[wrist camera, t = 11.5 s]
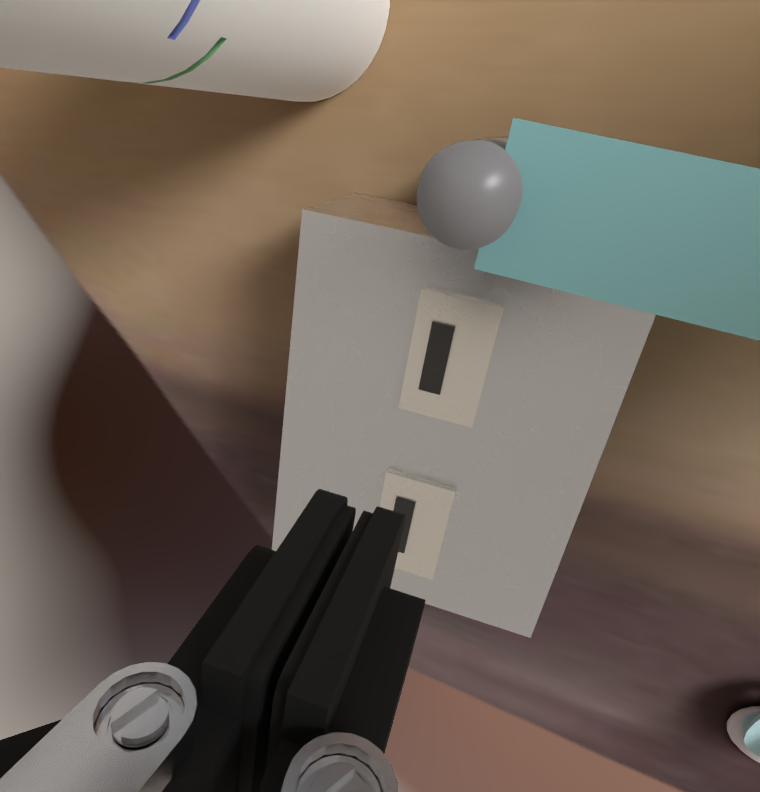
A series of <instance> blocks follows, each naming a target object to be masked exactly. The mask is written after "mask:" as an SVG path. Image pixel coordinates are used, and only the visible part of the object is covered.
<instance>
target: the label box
mask: <svg viewBox="0 0 760 792" xmlns="http://www.w3.org/2000/svg"><path fill="white" fill-rule="evenodd" d="M478 251H479V248H477V249H469V250H465V249H456V248H453V247H449V246H447V245H445V244H443V243H441V242H440V241H438V240H437V239H436V238H435V237H433V236H432V235H431V234H430V232H429V231H428V230H427V229H426V227H425V226H424V224H423V222H422V220H421V217H420V215H419V211H418V207H417V205H413V204H408V203H403V202H399V201H394V200H389V199H384V198H379V197H374V196H369V195H364V194H359V193H353V194H350V195H347V196H343V197H340V198H337V199H334V200H330V201H327V202H324V203H321V204H317V205H314V206H311V207H308V208H304V209H302V217H301V228H300V239H299V251H298V262H297V273H296V284H295V296H294V307H293V318H292V329H291V340H290V352H289V363H288V374H287V385H286V396H285V408H284V419H283V430H282V441H281V453H280V464H279V475H278V486H277V497H276V509H275V520H274V531H273V542H272V550H274V551H277V549H278V548H279V546H280V545H281V543H282V542H283V540H284V539H285V537H286V536H287V534H288V533H289V531H290V530H291V528H292V527H293V525H294V524H295V522H296V521H297V519H298V518H299V516H300V515H301V513H302V512H303V510H304V509H305V507H306V506H307V504H308V503H309V501H310V500H311V498H312V497H313V495H314V494H315V492H316V491H317V490H318V489H322V490H325V491H329V492H332V493H335V494H339V495H342V496H345V497H347V498H348V503H347V505H348V506H351V507H354V508H356V514H355V520H354V526H353V530H354V528H355V526H356V524H357V522H358V520H359V518H360V516H361V514H362V512H363V511H367V512H371V513H373V512H374V510H375V508H376V507H377V506H378V507H382V508H385V509H388V510H392V511H395V512H398V513H402V514H405V515H406V517H405V523H404V528H403V532H402V537H401V541H400V546H399V550H398V555H397V560H396V564H395V569H394V573H393V578H392V582H391V587H390V588H391V589H394V590H397V591H400V592H403V593H406V594H409V595H412V596H415V597H418V598H422V599H425V600H426V601H425V604H428V605H431V606H434V607H437V608H440V609H444V610H447V611H450V612H453V613H456V614H459V615H462V616H465V617H468V618H471V619H474V620H477V621H480V622H483V623H486V624H489V625H493V626H496V627H499V628H502V629H505V630H508V631H511V632H514V633H517V634H520V635H523V636H526V637H529V638H531V635H532V633H533V630H534V628H535V625H536V623H537V620H538V617H539V615H540V612H541V610H542V607H543V605H544V602H545V599H546V597H547V594H548V592H549V589H550V587H551V584H552V581H553V579H554V576H555V574H556V571H557V569H558V566H559V563H560V561H561V558H562V556H563V553H564V550H565V548H566V545H567V543H568V540H569V538H570V535H571V532H572V530H573V527H574V525H575V522H576V520H577V517H578V514H579V512H580V509H581V507H582V504H583V502H584V499H585V496H586V494H587V491H588V489H589V486H590V484H591V481H592V478H593V476H594V473H595V471H596V468H597V466H598V463H599V460H600V458H601V455H602V453H603V450H604V447H605V445H606V442H607V440H608V437H609V435H610V432H611V429H612V427H613V424H614V422H615V419H616V417H617V414H618V411H619V409H620V406H621V404H622V401H623V399H624V396H625V393H626V391H627V388H628V386H629V383H630V381H631V378H632V375H633V373H634V370H635V368H636V365H637V363H638V360H639V357H640V355H641V352H642V350H643V347H644V344H645V342H646V339H647V337H648V334H649V332H650V329H651V326H652V324H653V321H654V319H655V316H656V315H655V314H651V313H647V312H643V311H639V310H636V309H632V308H628V307H624V306H620V305H616V304H612V303H608V302H604V301H600V300H596V299H592V298H588V297H584V296H580V295H576V294H572V293H568V292H564V291H560V290H556V289H552V288H548V287H544V286H540V285H536V284H532V283H528V282H524V281H520V280H516V279H512V278H508V277H504V276H500V275H496V274H492V273H488V272H485V271H481V270H477V269H474V266H475V262H476V259H477V255H478Z"/></svg>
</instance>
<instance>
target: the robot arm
mask: <svg viewBox="0 0 760 792" xmlns="http://www.w3.org/2000/svg"><path fill="white" fill-rule="evenodd" d="M347 503H348V498H347V497H345V496H342V495H339V494H335V493H332V492H329V491H325V490H322V489H318V490H317V491H316V492H315V494H314V495H313V497H312V498H311V500H310V501H309V503H308V504H307V506H306V507H305V509H304V510H303V512H302V513H301V515H300V516H299V518H298V519H297V521H296V522H295V524H294V525H293V527H292V528H291V530H290V531H289V533H288V534H287V536H286V537H285V539H284V540H283V542H282V543H281V545H280V546H279V548H278V549H277V551H274V550H271V549H268V548H265V547H262V546H259V545H257V546H255V547H254V548H252V550H251V551H250V552H249V553H248V554H247V556H246V557H245V559H244V560H243V561H242V562H241V564H240V565H239V567H238V568H237V569H236V571H235V572H234V573H233V575H232V576H231V578H230V579H229V580H228V582H227V583H226V584H225V586H224V587H223V589H222V590H221V591H220V593H219V594H218V596H217V597H216V598H215V599H214V601H213V602H212V604H211V605H210V606H209V608H208V609H207V611H206V612H205V613H204V615H203V616H202V617H201V619H200V620H199V621H198V623H197V624H196V626H195V627H194V628H193V630H192V631H191V632H190V634H189V635H188V637H187V638H186V639H185V641H184V642H183V643H182V645H181V646H180V647H179V649H178V650H177V652H176V653H175V654H174V656H173V657H172V658H171V660H170V661H169V663H168V664H165V663H155V662H146V663H141V664H135V665H131V666H128V667H126V668H124V669H122V670H120V671H117V672H115V673H114V674H112V675H111V676H109V677H108V678H107V679H105V680H104V681H103V682H102V683H100V684H99V685H98V686H97V687H96V688H95V689H94V690H93V691H92V692H90V693H89V695H87V696H86V697H85V698H84V699H83V700H82V701H81V702H80V703H79V704H78V705H77V706H76V707H75V708H74V709H73V710H72V711H71V712H70V713H68V714H67V716H65V717H64V718H63V719H62V720H59V721H56V722H53V723H50V724H47V725H44V726H41V727H38V728H35V729H32V730H29V731H27V732H23V733H20V734H17V735H15V736H12V737H8V738H6V739H2V740H0V792H398V782H397V779H396V776H395V773H394V771H393V768H392V765H391V763H390V762H389V761H388V759H387V758H386V756H385V755H384V753H385V749H386V745H387V742H388V738H389V734H390V731H391V727H392V724H393V720H394V716H395V712H396V709H397V705H398V702H399V698H400V695H401V691H402V687H403V684H404V680H405V676H406V672H407V669H408V665H409V662H410V658H411V654H412V651H413V647H414V643H415V639H416V636H417V632H418V628H419V624H420V620H421V616H422V613H423V609H424V605H425V601H426V600H425V599H422V598H418V597H415V596H412V595H409V594H406V593H403V592H400V591H397V590H394V589H391V588H390V587H391V582H392V578H393V573H394V569H395V564H396V560H397V555H398V550H399V546H400V541H401V537H402V532H403V528H404V523H405V517H406V515H405V514H402V513H398V512H395V511H392V510H388V509H385V508H382V507H378V506H377V507H376V508H375V510H374V512H373V513H371V512H367V511H363V512H362V514H361V516H360V518H359V520H358V522H357V524H356V526H355V528H354V530H353V526H354V520H355V514H356V508H354V507H351V506H348V505H347Z"/></svg>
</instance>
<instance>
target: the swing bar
mask: <svg viewBox="0 0 760 792" xmlns="http://www.w3.org/2000/svg"><path fill="white" fill-rule="evenodd" d="M417 207H418V211H419V215H420V217H421V220H422V222H423V224H424V226H425V227H426V229H427V230H428V231H429V232H430V234H431V235H432V236H433V237H435V238H436V239H437V240H438V241H440V242H441V243H443V244H445V245H447V246H449V247H453V248H456V249H465V250H469V249H477V248H479V251H478V255H477V259H476V262H475V266H474V269H477V270H481V271H485V272H488V273H492V274H496V275H500V276H504V277H508V278H512V279H516V280H520V281H524V282H528V283H532V284H536V285H540V286H544V287H548V288H552V289H556V290H560V291H564V292H568V293H572V294H576V295H580V296H584V297H588V298H592V299H596V300H600V301H604V302H608V303H612V304H616V305H620V306H624V307H628V308H632V309H636V310H639V311H643V312H647V313H651V314H655V315H659V316H663V317H667V318H671V319H675V320H679V321H683V322H687V323H691V324H695V325H699V326H703V327H707V328H711V329H715V330H719V331H723V332H727V333H731V334H735V335H739V336H743V337H747V338H751V339H755V340H759V341H760V169H759V168H754V167H749V166H745V165H740V164H735V163H730V162H725V161H720V160H716V159H711V158H706V157H701V156H696V155H691V154H686V153H682V152H677V151H672V150H667V149H662V148H657V147H653V146H648V145H643V144H638V143H633V142H628V141H624V140H619V139H614V138H609V137H604V136H599V135H594V134H590V133H585V132H580V131H575V130H570V129H565V128H561V127H556V126H551V125H546V124H541V123H536V122H531V121H527V120H522V119H517V118H513V121H512V125H511V129H510V133H509V137H497V138H488V139H478V140H469V141H462V142H457V143H454V144H451V145H449V146H447V147H445V148H444V149H442V150H440V151H439V152H438V153H437V154H435V155H434V156H433V157H432V159H431V160H430V161H429V162H428V164H427V165H426V166H425V168H424V170H423V172H422V174H421V177H420V179H419V183H418V188H417Z"/></svg>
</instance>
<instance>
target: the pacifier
mask: <svg viewBox="0 0 760 792" xmlns="http://www.w3.org/2000/svg"><path fill="white" fill-rule="evenodd" d="M727 732H728V734H729V736H730V738H731V740H732V741H733V742H734V743H735V744H736V746H737V747H738V748H739V749H740V750H741V751H742V752H744V753H745V754H746V755H748V756H749V757H750V758H752V759H753V760H755V761H757V762H759V763H760V706H752V707H747V708H743V709H740V710H738V711H736V712H734V713H733V714H732V715H731V716H730V718H729V719H728V721H727Z"/></svg>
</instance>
